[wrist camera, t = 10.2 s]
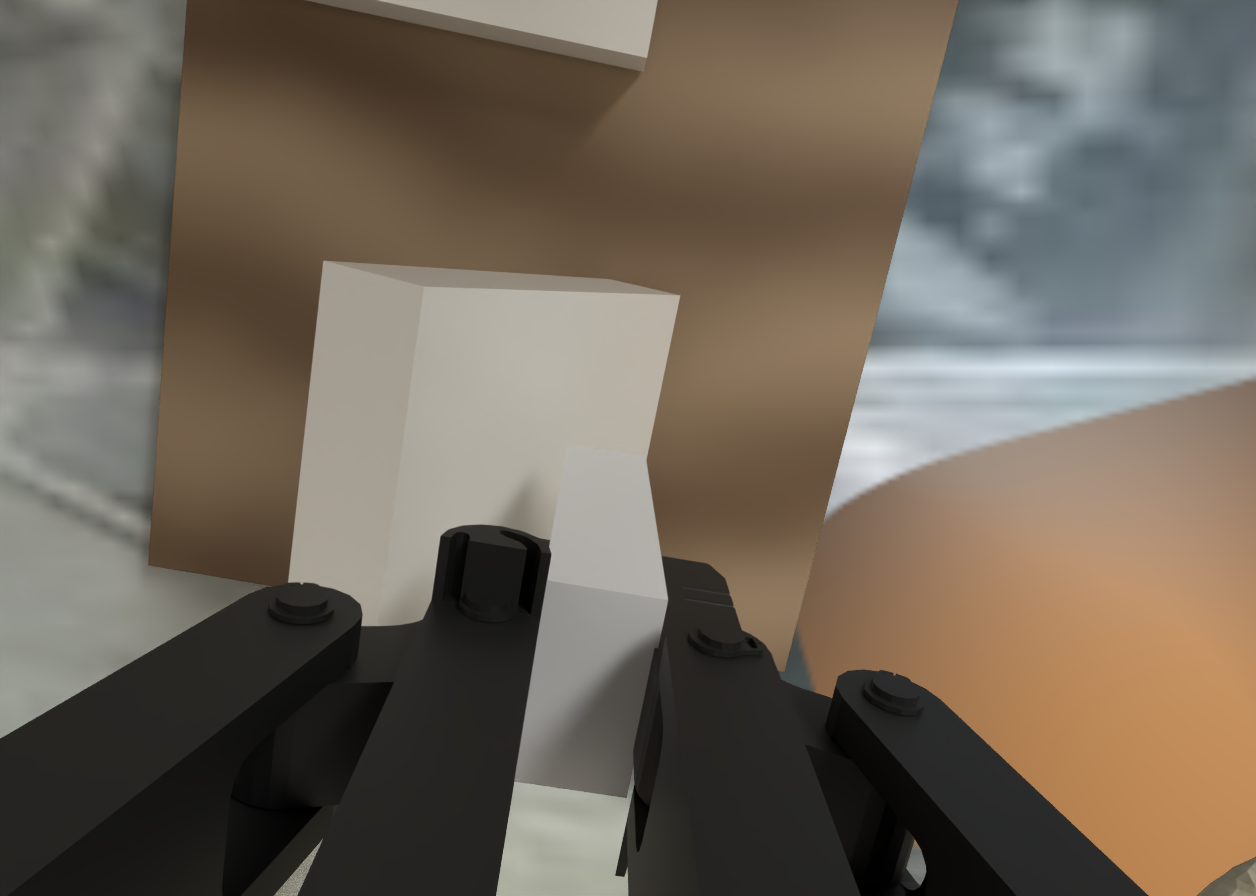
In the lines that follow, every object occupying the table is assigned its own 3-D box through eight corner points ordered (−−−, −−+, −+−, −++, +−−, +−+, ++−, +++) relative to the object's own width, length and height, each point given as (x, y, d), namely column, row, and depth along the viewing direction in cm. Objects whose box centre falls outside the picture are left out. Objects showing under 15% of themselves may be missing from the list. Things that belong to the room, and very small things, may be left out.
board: (250, -552, 20) (228, -600, 19) (1034, -355, 21) (1059, -388, 20) (169, 549, 26) (148, 565, 25) (776, 652, 27) (784, 671, 26)
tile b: (604, 277, 23) (315, 258, 14) (680, 295, 22) (424, 286, 13) (551, 564, 25) (268, 705, 16) (619, 590, 24) (359, 753, 15)
